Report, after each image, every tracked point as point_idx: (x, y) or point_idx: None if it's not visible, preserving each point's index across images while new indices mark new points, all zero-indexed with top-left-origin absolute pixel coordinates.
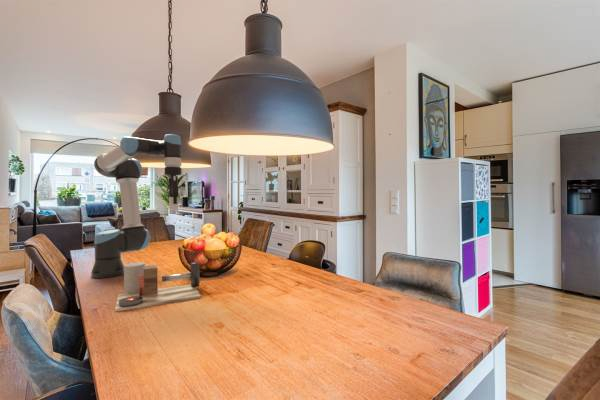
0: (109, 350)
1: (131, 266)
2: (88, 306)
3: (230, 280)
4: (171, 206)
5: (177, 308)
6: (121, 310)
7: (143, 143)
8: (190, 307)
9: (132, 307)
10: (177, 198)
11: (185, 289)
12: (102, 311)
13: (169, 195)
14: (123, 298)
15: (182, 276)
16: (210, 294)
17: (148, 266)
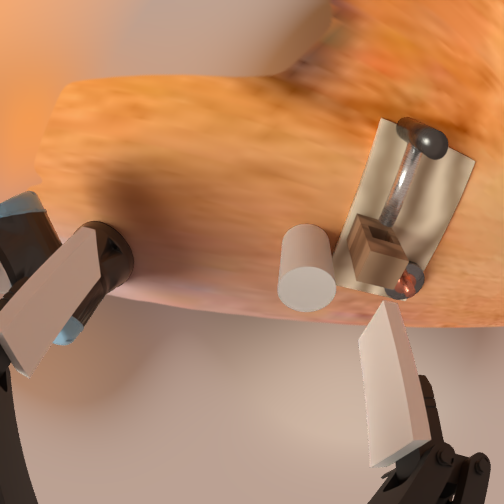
0: (498, 316)
1: (330, 301)
2: (337, 320)
3: (399, 14)
4: (80, 282)
5: (479, 221)
6: None
7: None
8: (493, 203)
9: None
10: (425, 426)
11: None
12: None
13: (7, 382)
14: (385, 290)
15: (414, 175)
16: (469, 129)
17: (374, 273)
